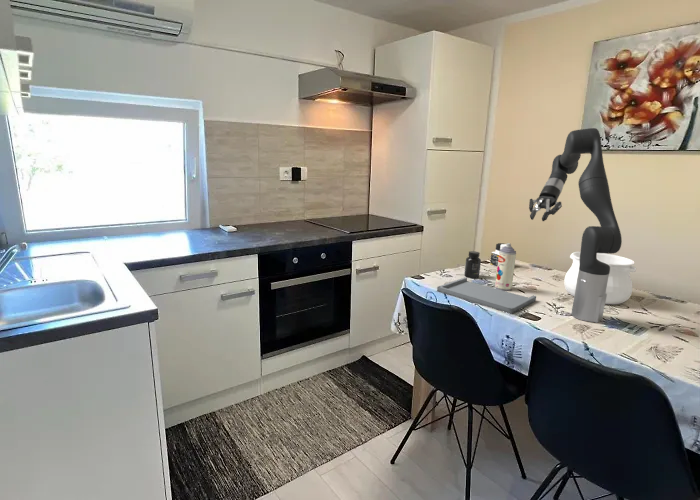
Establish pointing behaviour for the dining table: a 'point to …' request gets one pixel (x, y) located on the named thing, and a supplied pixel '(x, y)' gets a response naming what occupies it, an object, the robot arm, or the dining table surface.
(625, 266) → the pot
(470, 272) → the supplement bottle
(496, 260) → the medicine bottle
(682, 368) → the dining table surface
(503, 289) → the aerosol can
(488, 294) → the tray
